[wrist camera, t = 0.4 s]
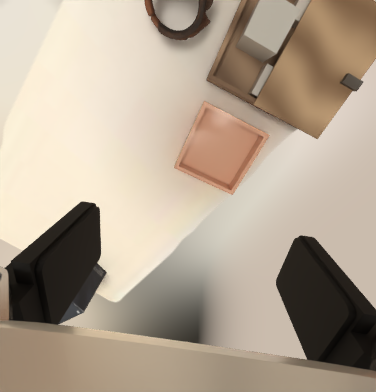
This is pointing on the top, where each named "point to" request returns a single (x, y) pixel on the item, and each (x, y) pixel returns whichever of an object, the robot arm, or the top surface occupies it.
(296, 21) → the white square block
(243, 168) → the terracotta tray
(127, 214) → the top surface
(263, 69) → the flat grey square block
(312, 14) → the sliding lid wooden box
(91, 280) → the small box
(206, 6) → the broken pottery ring
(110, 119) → the top surface
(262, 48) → the stone block
